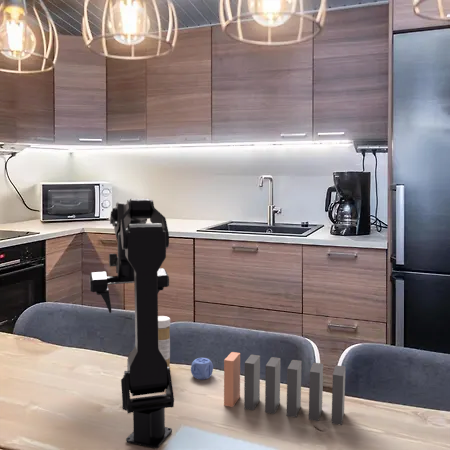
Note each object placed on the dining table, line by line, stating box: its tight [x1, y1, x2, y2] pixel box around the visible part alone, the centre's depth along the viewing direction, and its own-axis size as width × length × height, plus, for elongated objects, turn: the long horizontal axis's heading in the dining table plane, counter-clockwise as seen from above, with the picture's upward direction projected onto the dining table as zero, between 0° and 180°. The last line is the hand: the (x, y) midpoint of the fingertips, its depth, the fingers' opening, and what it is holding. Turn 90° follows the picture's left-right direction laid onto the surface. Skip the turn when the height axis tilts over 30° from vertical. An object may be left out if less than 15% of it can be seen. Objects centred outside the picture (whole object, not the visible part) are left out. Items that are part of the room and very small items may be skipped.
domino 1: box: [223, 351, 241, 408], centre depth 103 cm, size 2×5×10 cm, turn 161°
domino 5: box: [308, 362, 324, 422], centre depth 98 cm, size 2×5×10 cm, turn 161°
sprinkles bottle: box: [158, 315, 171, 370], centre depth 120 cm, size 5×5×13 cm
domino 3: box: [264, 356, 281, 415], centre depth 101 cm, size 2×5×10 cm, turn 161°
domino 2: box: [243, 354, 261, 411], centre depth 102 cm, size 2×5×10 cm, turn 161°
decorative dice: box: [190, 357, 214, 381], centre depth 117 cm, size 4×4×4 cm
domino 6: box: [330, 364, 346, 426], centre depth 96 cm, size 2×5×10 cm, turn 161°
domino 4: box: [286, 359, 302, 418], centre depth 99 cm, size 2×5×10 cm, turn 161°
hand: (129, 310), depth 119 cm, fingers open, 9 cm apart
